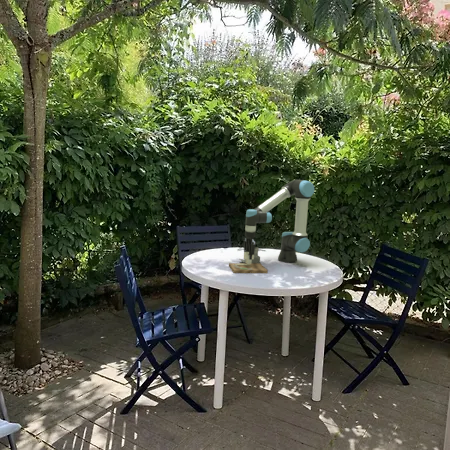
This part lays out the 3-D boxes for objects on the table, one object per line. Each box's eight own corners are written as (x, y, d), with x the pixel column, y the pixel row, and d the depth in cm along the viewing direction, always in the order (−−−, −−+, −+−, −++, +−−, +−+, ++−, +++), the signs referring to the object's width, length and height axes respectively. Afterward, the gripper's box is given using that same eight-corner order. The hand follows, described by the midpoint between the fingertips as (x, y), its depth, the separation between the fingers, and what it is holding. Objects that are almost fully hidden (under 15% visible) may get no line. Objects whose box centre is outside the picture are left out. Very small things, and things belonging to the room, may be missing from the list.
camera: (262, 248, 316) (243, 249, 311) (261, 264, 318) (243, 265, 313) (257, 246, 324) (239, 247, 319) (256, 261, 326) (238, 262, 321)
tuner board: (260, 266, 311) (260, 263, 311) (267, 273, 293) (267, 270, 293) (228, 265, 307) (228, 262, 307) (233, 273, 289) (234, 270, 288)
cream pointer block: (252, 265, 305) (253, 251, 303) (253, 266, 302) (254, 252, 301) (235, 265, 302) (235, 251, 300) (235, 266, 300) (236, 252, 298)
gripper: (240, 229, 304) (238, 260, 307) (251, 233, 290) (249, 266, 294) (249, 229, 307) (247, 260, 311) (260, 233, 294) (258, 265, 297)
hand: (248, 263), depth 302 cm, fingers closed on cream pointer block, 3 cm apart
